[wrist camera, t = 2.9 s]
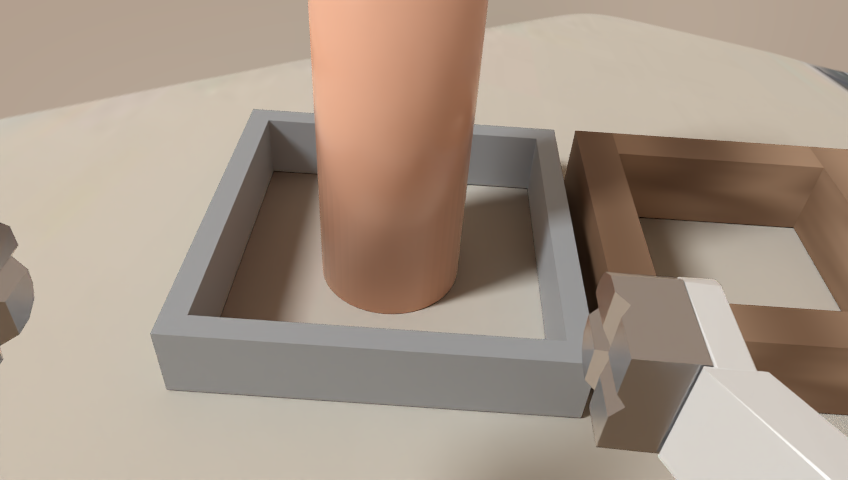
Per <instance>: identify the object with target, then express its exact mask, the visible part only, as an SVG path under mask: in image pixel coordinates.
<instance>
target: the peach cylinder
mask: <svg viewBox="0 0 848 480" xmlns="http://www.w3.org/2000/svg"><path fill="white" fill-rule="evenodd" d="M487 7H488V0H308V8H309V26H310V42H311V43H310V44H311V63H312V81H313V99H314V117H315V135H316V154H317V172H318V190H319V208H320V226H321V245H322V263H323V274H324V278H325V280H326V282H327V284H328V286H329V287H330V289H331V290H332V291H333V292H334V293H335V294H336V295H337V296H338V297H340V298H341V299H342V300H344V301H345V302H347V303H349V304H350V305H353V306H355V307H357V308H360V309H363V310H366V311H371V312H375V313H384V314H398V313H407V312H413V311H416V310H420V309H423V308H425V307H428V306H430V305H432V304H434V303H435V302H437V301H438V300H440V299H441V298H443V297H444V296H445V295H446V294H447V293H448V292H449V290H450V289H451V288H452V286H453V284H454V282H455V280H456V276H457V269H458V260H459V252H460V243H461V234H462V225H463V217H464V208H465V199H466V190H467V182H468V173H469V164H470V155H471V147H472V138H473V129H474V120H475V112H476V103H477V94H478V85H479V77H480V68H481V59H482V50H483V42H484V33H485V24H486V15H487Z"/></svg>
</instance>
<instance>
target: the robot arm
mask: <svg viewBox="0 0 848 480" xmlns="http://www.w3.org/2000/svg"><path fill="white" fill-rule="evenodd" d="M17 246H18V243H17V241H16V239H15V237H14V235H13V232H12V230H11V228H10V226H8V225H5V224H3V223H0V346H1V345H2V344H4V343H6V342H7V341H9V340H11V339H12V338H14V337H16V336H18V335H19V334H20V333H21V331H22V329H23V328H24V326H25V324H26V323H27V321H28V320H29V318H30V313H31V309H32V305H33V301H34V290H33V282H32V279H31V276H30V274H29V271H28V269H27V268H26V267H24V266H23V265H22V264H21V263H20V262H18V261H17V260H16V259H15V258H13V257H12V255H13V253H14V252H15V250H16V248H17ZM596 296H597V302H598V307H599V308H598V309H596V310H595V311H593V312H592V313H591V314H589V315H588V318H587V322H586V326H585V329H584V334H583V343H582V366H583V373H584V379H585V381H586V382H587V383H588V384H589V385H590V386H591V387H592V388H593V389H594V393H593V396H592V399H591V402H590V405H589V409H590V415H591V420H592V426H593V432H594V437H595V443H596V447H600V448H609V449H619V450H628V451H638V452H647V453H657V454H659V455H658V457H659V459H660V460H661V461H662V463H663V464H664V465H665V466H666V468H667V469H668V470H669V472H670V473H671V474H672V475H673V477H674V478H675V479H676V480H848V437H847V436H846V435H844V434H843V433H842V432H841V431H839V430H838V429H837V428H836V427H835V426H833V425H832V424H831V423H830V422H829V421H827V420H826V419H825V418H824V417H822V416H821V415H820V414H819V413H818V412H816V411H815V410H814V409H813V408H812V407H810V406H809V405H808V404H807V403H806V402H804V401H803V400H802V399H801V398H799V397H798V396H797V395H796V394H795V393H793V392H792V391H791V390H790V389H789V388H787V387H786V386H785V385H784V384H782V383H781V382H780V381H779V380H778V379H776V378H775V377H774V376H773V375H772V374H770V373H769V372H763V371H757V369H756V367H755V364H754V362H753V359H752V357H751V355H750V352H749V350H748V348H747V345H746V343H745V341H744V338H743V336H742V333H741V331H740V329H739V326H738V324H737V322H736V319H735V317H734V315H733V312H732V310H731V307H730V305H729V303H728V300H727V298H726V296H725V293H724V291H723V289H722V286H721V284H720V283H719V282H717V281H716V280H715V279H705V278H690V277H677V278H675V277H667V276H653V275H640V274H627V273H613V272H605V273H604V274H603V276H602V277H601V279H600V281H599V284H598V287H597V290H596ZM2 360H3V357H2V353H1V349H0V363H1V362H2Z"/></svg>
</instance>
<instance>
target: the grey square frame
mask: <svg viewBox="0 0 848 480" xmlns="http://www.w3.org/2000/svg"><path fill="white" fill-rule="evenodd" d="M273 171H285V172H300V173H314V174H318V172H317V154H316V135H315V117H314V113H303V112H288V111H274V110H259V109H253V111H252V113H251V116H250V118H249V120H248V122H247V124H246V126H245V129H244V131H243V133H242V135H241V137H240V139H239V142H238V144H237V146H236V148H235V150H234V153H233V155H232V157H231V159H230V161H229V163H228V166H227V168H226V170H225V172H224V174H223V176H222V179H221V181H220V183H219V185H218V187H217V190H216V192H215V194H214V196H213V198H212V200H211V203H210V205H209V207H208V209H207V211H206V214H205V216H204V218H203V220H202V222H201V224H200V227H199V229H198V231H197V233H196V235H195V237H194V240H193V242H192V244H191V246H190V248H189V251H188V253H187V255H186V257H185V259H184V261H183V264H182V266H181V268H180V270H179V272H178V274H177V277H176V279H175V281H174V283H173V285H172V288H171V290H170V292H169V294H168V296H167V298H166V301H165V303H164V305H163V307H162V309H161V312H160V314H159V316H158V318H157V320H156V322H155V325H154V327H153V329H152V331H151V333H150V334H151V338H152V341H153V345H154V348H155V352H156V355H157V358H158V362H159V365H160V369H161V372H162V375H163V379H164V382H165V386H166V389H167V390H181V391H195V392H210V393H225V394H239V395H254V396H268V397H283V398H298V399H312V400H327V401H342V402H356V403H371V404H385V405H400V406H415V407H429V408H444V409H459V410H473V411H488V412H503V413H517V414H532V415H546V416H561V417H576V418H581V416H582V413H583V410H584V407H585V404H586V401H587V398H588V395H589V392H590V389H591V386H590V385H589V384H588V383H587V382H586V381H585V379H584V373H583V366H582V343H583V334H584V329H585V326H586V322H587V318H588V315H589V311H588V306H587V300H586V295H585V290H584V285H583V279H582V274H581V269H580V264H579V258H578V253H577V248H576V243H575V237H574V232H573V227H572V222H571V216H570V211H569V206H568V200H567V195H566V190H565V185H564V179H563V174H562V169H561V164H560V158H559V153H558V148H557V143H556V137H555V132H554V130H549V129H534V128H520V127H505V126H491V125H476V124H474V129H473V138H472V147H471V155H470V164H469V173H468V182H467V184H474V185H488V186H503V187H517V188H527V189H528V197H529V205H530V214H531V222H532V230H533V239H534V247H535V255H536V264H537V272H538V281H539V289H540V297H541V306H542V314H543V322H544V331H545V339H546V340H545V339H530V338H515V337H501V336H486V335H472V334H457V333H442V332H428V331H413V330H399V329H384V328H369V327H355V326H340V325H326V324H311V323H297V322H282V321H267V320H253V319H238V318H224V317H220V316H221V313H222V311H223V308H224V305H225V302H226V300H227V297H228V294H229V291H230V289H231V286H232V283H233V281H234V278H235V275H236V272H237V270H238V267H239V264H240V261H241V259H242V256H243V253H244V250H245V248H246V245H247V242H248V240H249V237H250V234H251V231H252V229H253V226H254V223H255V220H256V218H257V215H258V212H259V209H260V207H261V204H262V201H263V198H264V196H265V193H266V190H267V188H268V185H269V182H270V179H271V177H272V174H273Z"/></svg>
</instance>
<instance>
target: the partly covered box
mask: <svg viewBox="0 0 848 480" xmlns="http://www.w3.org/2000/svg"><path fill="white" fill-rule="evenodd" d="M564 185H565V190H566V195H567V200H568V206H569V211H570V216H571V222H572V227H573V232H574V237H575V243H576V248H577V253H578V258H579V264H580V269H581V274H582V279H583V285H584V290H585V295H586V300H587V306H588V311H589V314H591V313H592V312H593V311H595V310H596V309H598V308H599V307H598V302H597V296H596V290H597V287H598V284H599V281H600V279H601V277H602V276H603V274H604V273H605V272H613V273H627V274H640V275H653V276H656V272H655V269H654V266H653V263H652V260H651V256H650V253H649V250H648V247H647V243H646V240H645V237H644V234H643V231H642V227H641V224H640V221H639V218H638V217H649V218H663V219H678V220H692V221H707V222H721V223H736V224H750V225H765V226H779V227H793V228H794V229H795V231H796V233H797V235H798V236H799V238H800V240H801V242H802V243H803V245H804V247H805V248H806V250H807V252H808V254H809V255H810V257H811V259H812V261H813V262H814V264H815V266H816V268H817V269H818V271H819V273H820V275H821V276H822V278H823V280H824V282H825V283H826V285H827V287H828V289H829V290H830V292H831V294H832V296H833V297H834V299H835V301H836V303H837V304H838V306H839V308H840V309H841V311H828V310H814V309H799V308H785V307H770V306H756V305H741V304H729V305H730V307H731V310H732V312H733V315H734V317H735V319H736V322H737V324H738V326H739V329H740V331H741V333H742V336H743V338H744V341H745V343H746V345H747V348H748V350H749V352H750V355H751V357H752V359H753V362H754V364H755V367H756V369H757V371H763V372H769V373H770V374H772V375H773V376H774V377H775V378H776V379H778V380H779V381H780V382H781V383H782V384H784V385H785V386H786V387H787V388H789V389H790V390H791V391H792V392H793V393H795V394H796V395H797V396H798V397H799V398H801V399H802V400H803V401H804V402H806V403H807V404H808V405H809V406H810V407H812V408H813V409H814V410H815V411H816V412H818V413H827V414H842V415H848V149H833V148H819V147H804V146H790V145H775V144H761V143H746V142H732V141H717V140H703V139H688V138H674V137H659V136H645V135H631V134H616V133H602V132H587V131H575V135H574V139H573V144H572V148H571V153H570V157H569V162H568V166H567V171H566V175H565V180H564Z"/></svg>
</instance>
